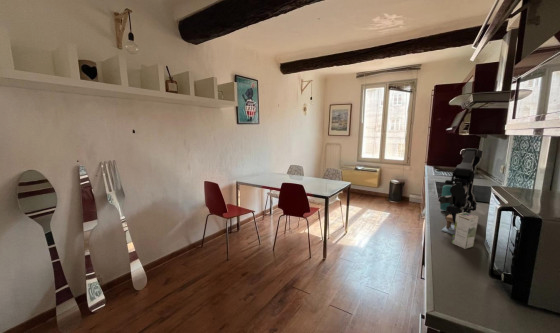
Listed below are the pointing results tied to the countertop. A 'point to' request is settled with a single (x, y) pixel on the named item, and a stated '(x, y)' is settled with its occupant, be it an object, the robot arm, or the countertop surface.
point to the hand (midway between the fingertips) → (456, 222)
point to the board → (449, 229)
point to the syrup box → (465, 230)
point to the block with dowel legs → (449, 220)
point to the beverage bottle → (446, 193)
